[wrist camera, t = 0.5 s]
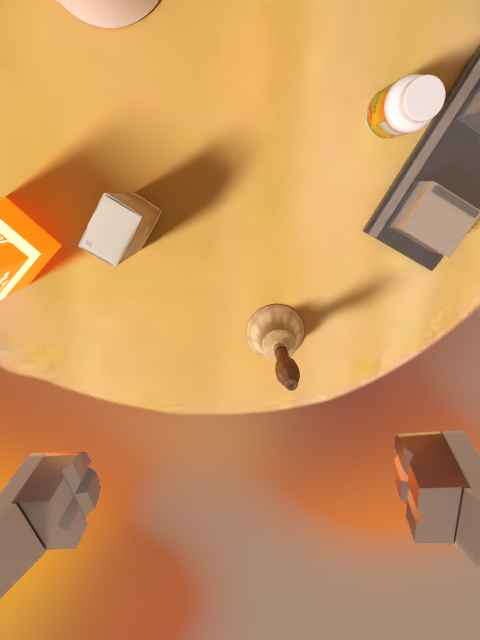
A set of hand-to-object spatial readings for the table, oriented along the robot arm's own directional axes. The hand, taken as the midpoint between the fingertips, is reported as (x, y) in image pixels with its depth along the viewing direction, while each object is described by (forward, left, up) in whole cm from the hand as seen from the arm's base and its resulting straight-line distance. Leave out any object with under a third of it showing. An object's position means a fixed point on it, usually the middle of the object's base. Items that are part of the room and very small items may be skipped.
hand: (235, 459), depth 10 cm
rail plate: (-1, +29, -43) cm, 52 cm away
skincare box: (-6, -11, -43) cm, 45 cm away
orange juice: (-8, -27, -44) cm, 52 cm away
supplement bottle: (-9, +22, -43) cm, 49 cm away
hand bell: (+14, +2, -44) cm, 46 cm away
